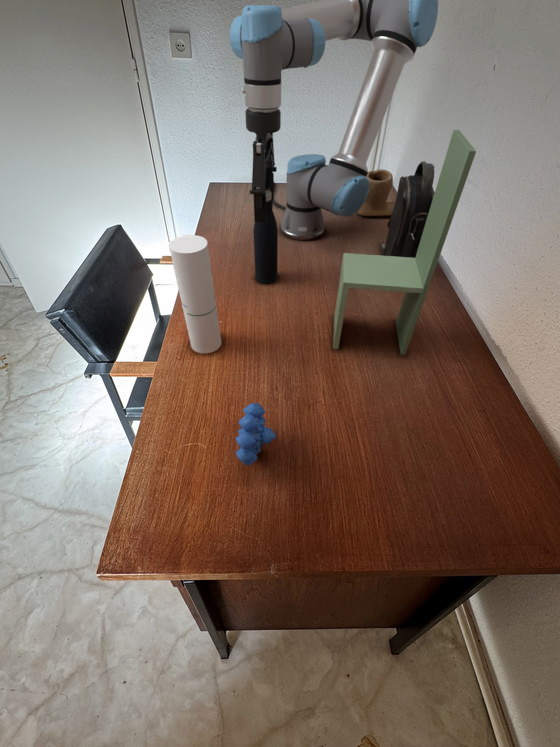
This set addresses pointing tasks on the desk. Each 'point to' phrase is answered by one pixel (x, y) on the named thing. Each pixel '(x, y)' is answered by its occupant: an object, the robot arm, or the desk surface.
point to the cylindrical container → (196, 291)
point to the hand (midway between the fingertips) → (264, 210)
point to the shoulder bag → (410, 212)
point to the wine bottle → (266, 239)
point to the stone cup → (378, 194)
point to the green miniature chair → (418, 270)
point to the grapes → (252, 434)
